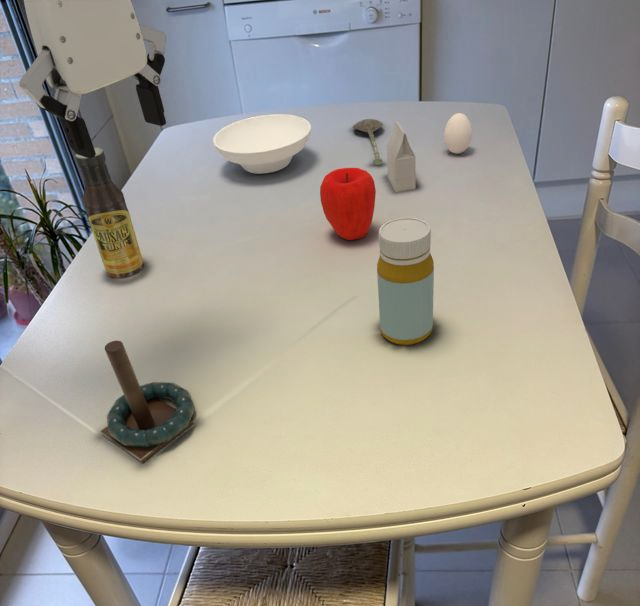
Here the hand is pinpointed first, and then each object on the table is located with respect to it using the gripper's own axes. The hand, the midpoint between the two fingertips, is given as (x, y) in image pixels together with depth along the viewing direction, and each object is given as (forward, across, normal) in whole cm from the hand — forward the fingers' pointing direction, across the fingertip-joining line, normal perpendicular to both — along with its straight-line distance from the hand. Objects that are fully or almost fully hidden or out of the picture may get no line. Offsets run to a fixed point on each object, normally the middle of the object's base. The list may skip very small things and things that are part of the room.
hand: (122, 139), depth 72 cm
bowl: (+28, -49, -32) cm, 65 cm away
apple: (+28, -35, +1) cm, 45 cm away
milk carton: (+28, -55, -3) cm, 62 cm away
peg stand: (+28, +14, +10) cm, 33 cm away
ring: (+26, +13, +10) cm, 31 cm away
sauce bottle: (+28, -7, -23) cm, 37 cm away
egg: (+28, -71, -1) cm, 77 cm away
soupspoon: (+28, -67, -19) cm, 75 cm away
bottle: (+28, -19, +24) cm, 42 cm away
